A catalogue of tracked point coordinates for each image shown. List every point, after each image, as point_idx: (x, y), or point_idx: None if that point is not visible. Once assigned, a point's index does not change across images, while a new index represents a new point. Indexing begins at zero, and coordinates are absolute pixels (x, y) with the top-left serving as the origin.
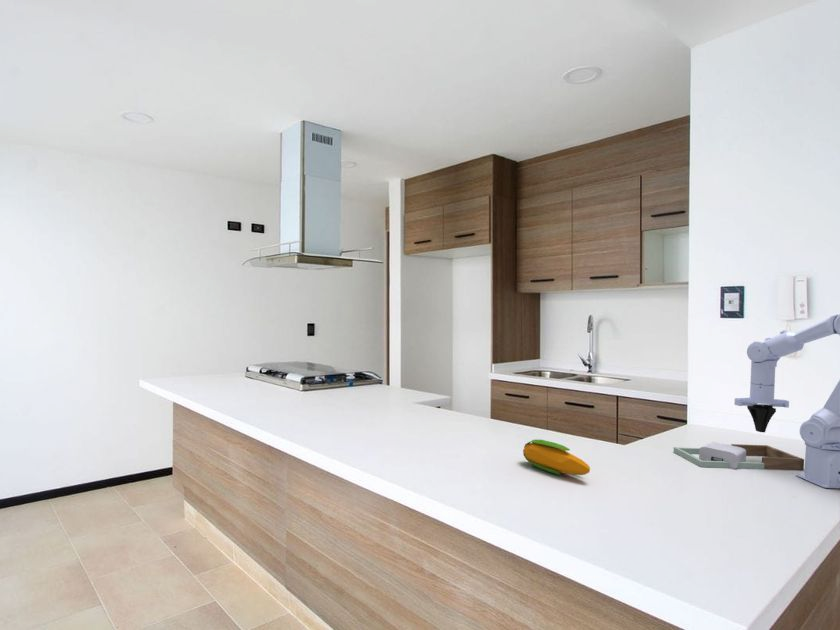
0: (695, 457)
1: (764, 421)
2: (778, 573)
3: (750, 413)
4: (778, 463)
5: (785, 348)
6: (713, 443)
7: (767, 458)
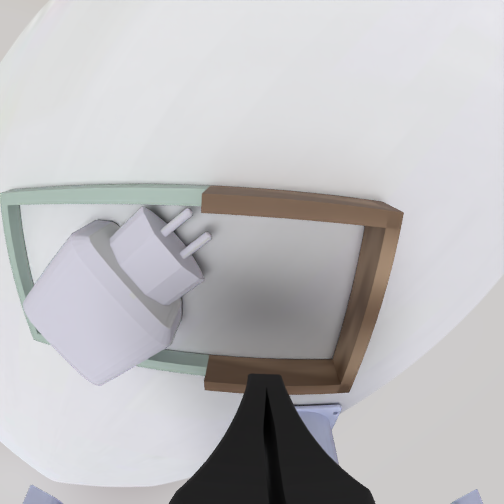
0: None
1: (265, 462)
2: (73, 482)
3: (206, 460)
4: None
5: None
6: (64, 276)
7: (215, 390)
